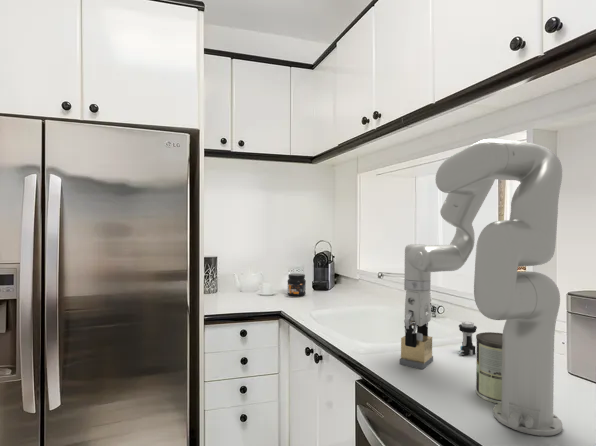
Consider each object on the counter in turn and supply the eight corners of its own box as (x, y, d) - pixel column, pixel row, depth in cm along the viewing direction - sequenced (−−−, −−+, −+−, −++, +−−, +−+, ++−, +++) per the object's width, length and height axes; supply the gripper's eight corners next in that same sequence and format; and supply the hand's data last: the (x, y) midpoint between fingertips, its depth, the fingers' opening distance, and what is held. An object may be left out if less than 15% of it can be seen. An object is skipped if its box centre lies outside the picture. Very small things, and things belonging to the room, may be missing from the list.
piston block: (422, 369, 112) (423, 339, 112) (399, 364, 116) (399, 335, 116) (433, 360, 119) (433, 332, 119) (410, 355, 123) (410, 328, 123)
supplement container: (283, 295, 223) (284, 274, 223) (293, 293, 232) (293, 272, 232) (300, 297, 218) (300, 276, 218) (308, 294, 227) (309, 274, 227)
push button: (466, 358, 121) (467, 326, 121) (452, 353, 126) (452, 322, 126) (480, 355, 125) (480, 323, 125) (465, 350, 129) (465, 320, 129)
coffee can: (468, 386, 100) (468, 331, 100) (507, 386, 101) (508, 332, 101) (488, 405, 90) (489, 344, 90) (532, 405, 90) (533, 344, 90)
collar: (424, 363, 113) (424, 342, 113) (401, 358, 117) (401, 338, 117) (432, 356, 118) (432, 336, 118) (409, 352, 123) (409, 332, 123)
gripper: (419, 290, 109) (418, 352, 109) (438, 283, 122) (438, 338, 122) (393, 287, 113) (393, 347, 113) (415, 281, 127) (414, 333, 127)
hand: (416, 342), depth 118 cm, fingers open, 9 cm apart
